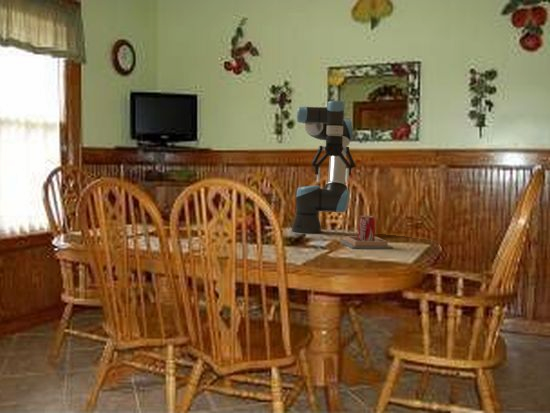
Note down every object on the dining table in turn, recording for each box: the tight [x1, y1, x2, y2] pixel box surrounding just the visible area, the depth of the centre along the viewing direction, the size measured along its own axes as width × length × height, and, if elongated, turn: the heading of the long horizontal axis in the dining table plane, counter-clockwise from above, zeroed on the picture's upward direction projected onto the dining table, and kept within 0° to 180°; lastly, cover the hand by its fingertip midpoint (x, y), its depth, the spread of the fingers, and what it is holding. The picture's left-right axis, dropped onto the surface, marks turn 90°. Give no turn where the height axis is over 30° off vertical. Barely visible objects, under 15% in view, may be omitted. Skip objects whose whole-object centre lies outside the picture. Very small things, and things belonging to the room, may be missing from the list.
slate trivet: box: [339, 235, 394, 250], centre depth 254 cm, size 18×18×3 cm
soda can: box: [358, 214, 376, 241], centre depth 254 cm, size 7×7×12 cm
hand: (332, 182), depth 265 cm, fingers open, 13 cm apart
